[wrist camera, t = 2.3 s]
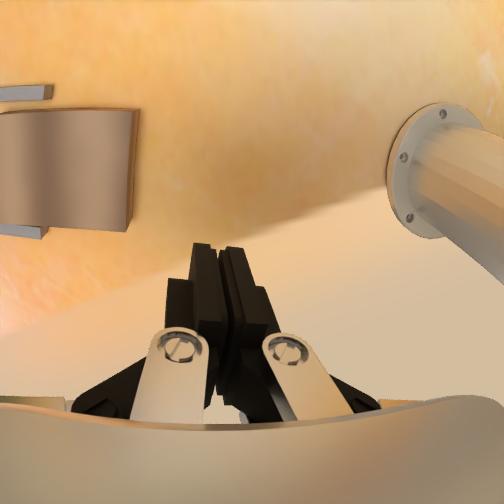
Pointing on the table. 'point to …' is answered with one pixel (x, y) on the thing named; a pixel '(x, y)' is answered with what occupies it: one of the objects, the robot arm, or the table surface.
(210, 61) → the table surface
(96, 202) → the walnut tile
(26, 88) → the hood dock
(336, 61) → the table surface
